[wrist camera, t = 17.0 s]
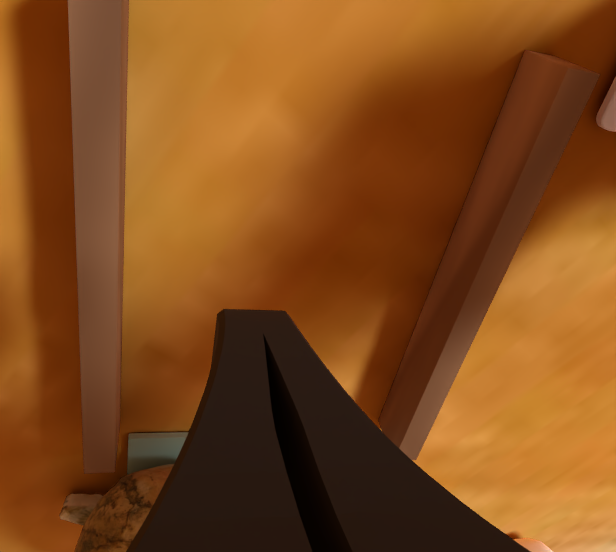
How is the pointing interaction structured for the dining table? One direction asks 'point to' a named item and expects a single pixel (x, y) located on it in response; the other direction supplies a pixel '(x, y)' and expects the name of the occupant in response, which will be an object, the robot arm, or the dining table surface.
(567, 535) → the dining table surface
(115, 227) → the cart frame
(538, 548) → the unicorn horn
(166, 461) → the panel
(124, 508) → the onion
